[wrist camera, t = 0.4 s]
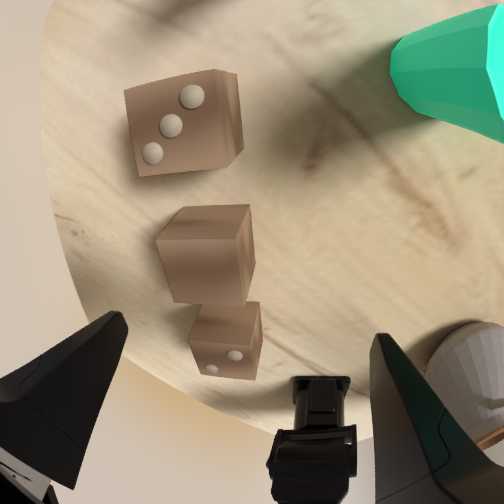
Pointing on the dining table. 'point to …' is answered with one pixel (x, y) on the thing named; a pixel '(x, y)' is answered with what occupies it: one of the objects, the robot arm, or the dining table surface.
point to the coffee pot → (472, 380)
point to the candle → (456, 71)
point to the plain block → (209, 255)
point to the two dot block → (227, 340)
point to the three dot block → (185, 122)
